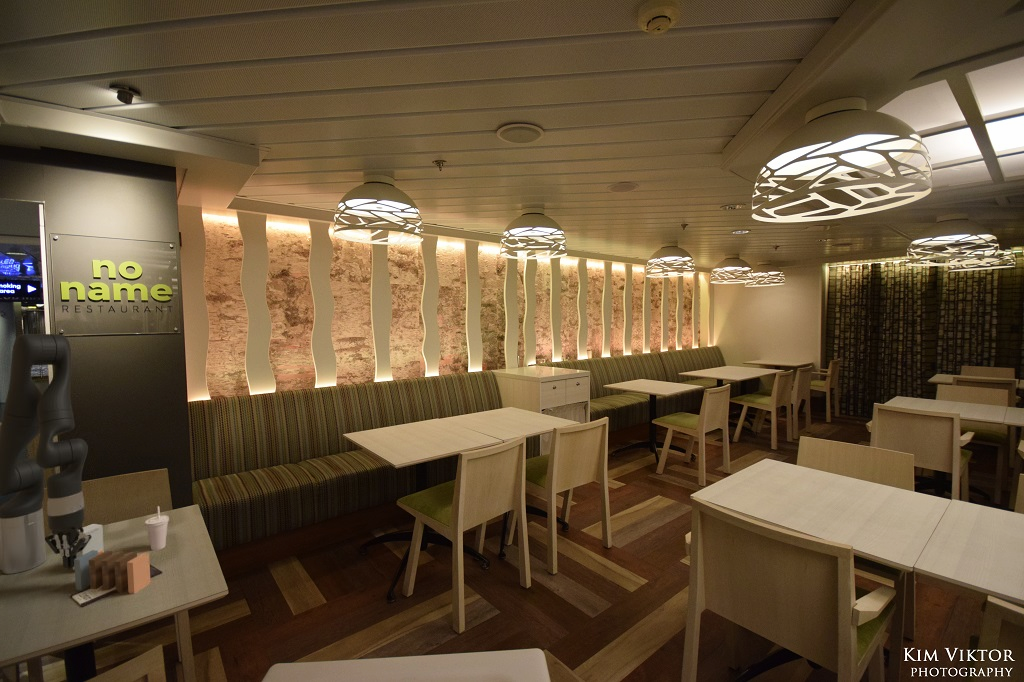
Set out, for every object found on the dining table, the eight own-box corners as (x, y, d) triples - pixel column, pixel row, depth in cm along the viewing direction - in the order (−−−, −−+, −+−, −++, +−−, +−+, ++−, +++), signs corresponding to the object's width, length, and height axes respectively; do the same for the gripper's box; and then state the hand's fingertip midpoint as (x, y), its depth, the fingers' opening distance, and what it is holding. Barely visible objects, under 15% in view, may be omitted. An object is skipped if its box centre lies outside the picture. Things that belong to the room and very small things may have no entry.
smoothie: (173, 545, 151) (171, 505, 150) (150, 554, 145) (148, 512, 145) (165, 540, 154) (163, 501, 153) (142, 548, 149) (140, 508, 148)
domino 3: (103, 591, 126) (101, 560, 126) (120, 580, 131) (118, 551, 131) (109, 591, 126) (107, 561, 125) (126, 581, 131) (124, 551, 130)
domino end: (128, 593, 125) (126, 562, 125) (144, 582, 130) (143, 552, 130) (134, 593, 125) (132, 562, 124) (150, 583, 130) (148, 553, 129)
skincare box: (83, 571, 136) (81, 533, 135) (72, 570, 137) (70, 532, 136) (105, 561, 142) (103, 524, 141) (94, 559, 142) (92, 523, 142)
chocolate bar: (162, 571, 135) (82, 605, 119) (162, 574, 135) (83, 608, 119) (148, 563, 139) (70, 594, 124) (148, 566, 139) (70, 598, 124)
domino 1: (76, 589, 127) (74, 559, 126) (94, 579, 132) (92, 550, 131) (81, 590, 127) (79, 559, 126) (99, 579, 132) (97, 550, 131)
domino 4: (116, 592, 126) (114, 561, 125) (132, 581, 131) (131, 552, 130) (121, 592, 126) (120, 561, 125) (138, 581, 131) (136, 552, 130)
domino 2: (90, 590, 126) (88, 560, 126) (108, 580, 131) (106, 550, 131) (96, 591, 126) (94, 560, 126) (113, 580, 131) (111, 551, 131)
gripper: (100, 504, 131) (103, 561, 132) (60, 502, 133) (64, 558, 134) (72, 515, 124) (76, 575, 125) (30, 513, 125) (34, 573, 126)
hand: (70, 567), depth 129 cm, fingers closed
